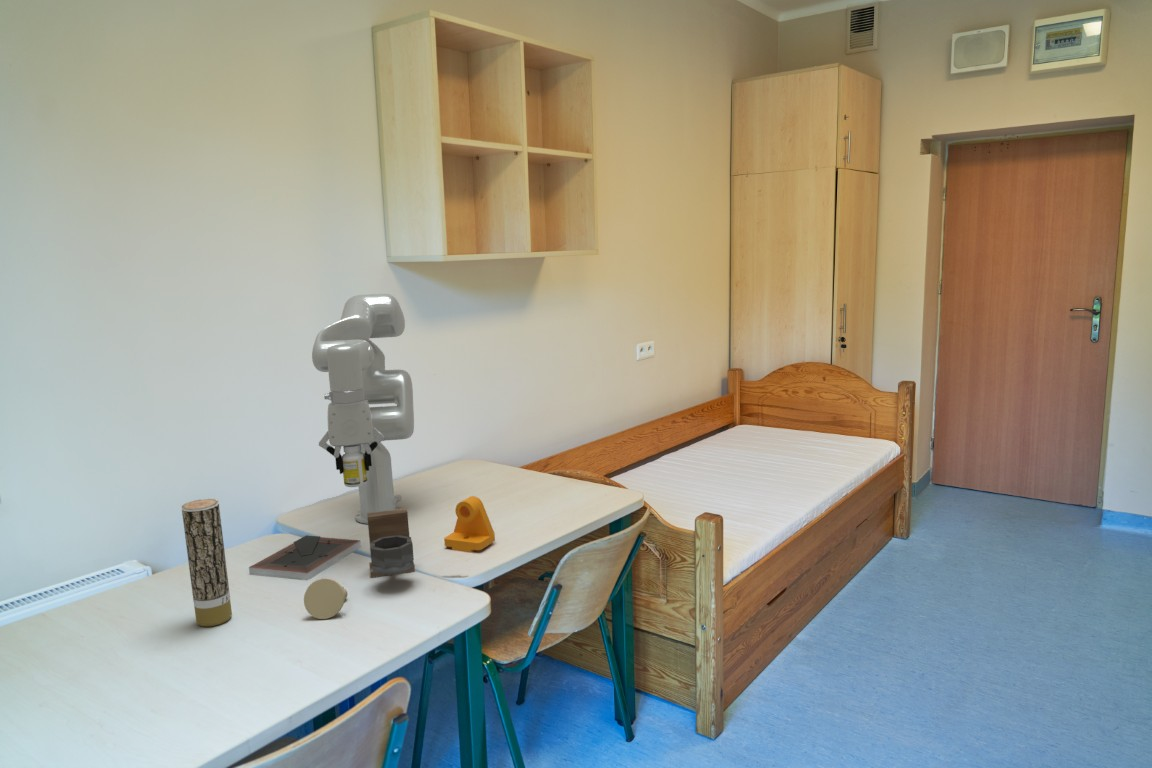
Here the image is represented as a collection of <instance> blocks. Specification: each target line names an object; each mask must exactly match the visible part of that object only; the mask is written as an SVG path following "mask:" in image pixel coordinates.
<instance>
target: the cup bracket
mask: <svg viewBox="0 0 1152 768" xmlns="http://www.w3.org/2000/svg"><path fill="white" fill-rule="evenodd" d="M367 518H368V524H367V527H368V528H367V529H368V538H369V550H370V551H369V552H370V561H371V562H369V564H368V565H369V572H370V574H369V575H370V578H379V577H386V576H387V577H388V576H394V575H400V574H408V573H413V572H414V573H415V572H416V570H415V567H416V566H415V563H414V560H415V558H414V547H413V539H412V536H410V527H409V526H410V525H409V514H408V508H399V509H398V510H390V511H382V512H374V513H367Z"/></svg>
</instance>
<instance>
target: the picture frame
mask: <svg viewBox="0 0 1152 768" xmlns="http://www.w3.org/2000/svg"><path fill="white" fill-rule="evenodd" d="M361 543H362V542H361V540H360V539H347V538H335V537H323V536H320V535H319V536H318V535H317V536H315V535H304V536H303V537H300V538H298V539H297V540H295V541H293V543H291V544H289V545H287V546H285V547H283V548H281V549H280V550H278V551H276V552H275V553H272V554H271V555H269V556H267V557H266V558H265V557H264V559H262V560H260V561H258V562H256V563H254V564H253V565H251V566H249V567H248V572H249V575H255V576H261V577H262V576H265V577H273V578H274V577H275V578H284V579H291V580H292V579H293V580H304V581H310V580H311V579H312V578H314V577H315V576H317V575H319V574H320V573H322V572H324V571H325V570H327V569H328V568H330V567H331V566H333V565H335V564H336V563H338V562H339V561H341V560H342V559H344V558H346V557H347V556H349V555H351V554H352V553H354V552H355V551H357V550H358V549H360V548H362V545H361Z"/></svg>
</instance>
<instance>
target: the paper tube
mask: <svg viewBox="0 0 1152 768" xmlns="http://www.w3.org/2000/svg"><path fill="white" fill-rule="evenodd" d="M181 514H182V521H183V529H184V538H185V545H186V553H187V560H188V561H187V562H188V569H189V576H190V577H189V578H190V583H191V593H192V599H193V601H192V602H193V607H194V613H195V621H196V623H197V625H198V626H201V627H215V626H219V625H222V624H225V623H226V622H228V621H229V620H230V619H231V617H232V615H233V614H232V613H233V612H232V605H231V604H232V602H231V594H230V585H229V578H228V569H227V560H226V553H225V552H226V551H225V543H224V536H223V528H222V519H221V510H220V503H219V500H218V499H216V498H203V499H197V500H193V501H189V502H186V503H184V504H182V505H181Z"/></svg>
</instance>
